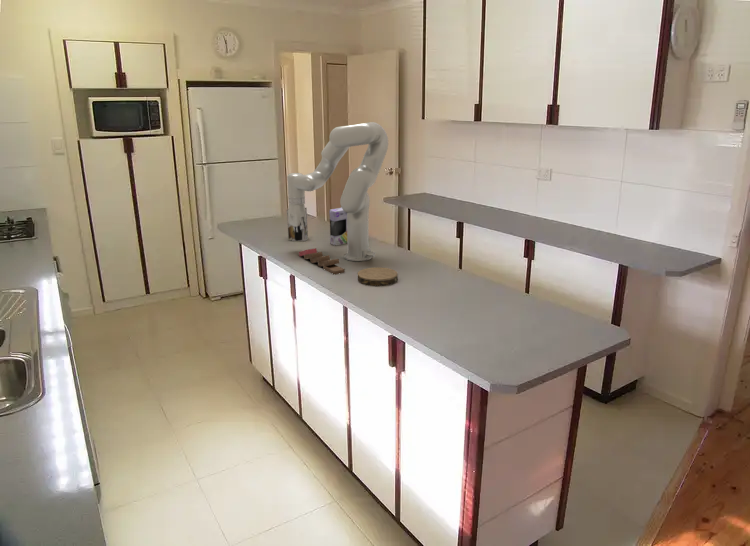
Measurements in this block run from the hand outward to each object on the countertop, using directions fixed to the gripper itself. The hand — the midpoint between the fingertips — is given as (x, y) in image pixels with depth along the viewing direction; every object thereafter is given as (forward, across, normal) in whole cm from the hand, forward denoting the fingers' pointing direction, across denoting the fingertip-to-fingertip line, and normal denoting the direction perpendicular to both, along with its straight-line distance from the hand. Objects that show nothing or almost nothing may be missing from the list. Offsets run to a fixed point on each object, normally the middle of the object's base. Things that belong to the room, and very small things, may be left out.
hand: (298, 239), depth 252 cm
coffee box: (+7, -24, +11) cm, 27 cm away
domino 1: (+6, +11, 0) cm, 12 cm away
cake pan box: (+7, -6, +29) cm, 30 cm away
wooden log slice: (+7, +53, +9) cm, 54 cm away
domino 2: (+6, +17, 0) cm, 18 cm away
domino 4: (+6, +29, 0) cm, 29 cm away
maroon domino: (+6, +5, 0) cm, 7 cm away
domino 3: (+5, +24, 0) cm, 24 cm away
